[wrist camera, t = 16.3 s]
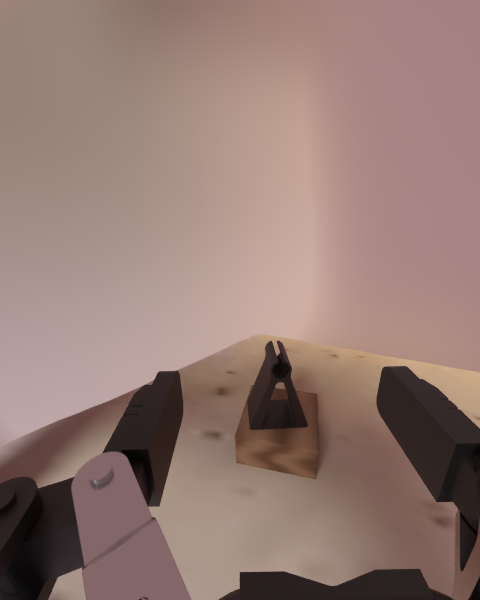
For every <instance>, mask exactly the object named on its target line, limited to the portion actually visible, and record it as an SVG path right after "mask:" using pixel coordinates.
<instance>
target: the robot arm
mask: <svg viewBox="0 0 480 600" xmlns="http://www.w3.org/2000/svg"><path fill="white" fill-rule="evenodd" d="M377 408H378V411H379V414H380V416H381V417H382V419H383V420H384V422H385V423H386V425H387V426H388V428H389V430H390V431H391V433H392V434H393V436H394V437H395V439H396V440H397V442H398V443H399V445H400V446H401V448H402V450H403V451H404V453H405V454H406V456H407V457H408V459H409V460H410V462H411V463H412V465H413V466H414V468H415V470H416V471H417V473H418V474H419V476H420V477H421V479H422V480H423V482H424V483H425V485H426V486H427V488H428V489H429V491H430V493H431V494H432V496H433V497H434V499H435V500H436V502H454V503H455V505H456V506H457V508H458V510H457V513H456V522H455V581H454V589H453V593H452V598H451V597H449V596H447V595H445V594H443V593H440V592H438V591H436V590H433V589H431V588H429V587H428V585H427V583H426V581H425V579H424V577H423V575H422V573H421V570H420V569H391V570H374V571H371V572H369V573H366V574H364V575H362V576H359V577H357V578H354V579H352V580H350V581H347V582H345V583H342V584H340V585H337V586H329V585H325V584H322V583H319V582H316V581H313V580H309V579H306V578H303V577H300V576H297V575H293V574H290V573H287V572H284V571H283V572H240V589H237V590H235V591H233V592H230V593H229V594H227V595H225V596H224V597H222V598H220V599H219V600H480V428H479V427H478V426H477V425H475V424H474V423H473V422H472V421H471V420H470V419H469V418H468V417H467V416H466V415H465V414H464V413H463V412H462V411H461V410H458V407H457V406H456V405H455V404H453V403H452V402H451V401H449V400H448V398H447V397H446V396H445V395H444V394H443V393H442V392H441V391H440V390H439V389H438V388H436V387H435V386H433V385H431V384H430V383H428V382H426V381H425V380H423V379H419V378H418V377H417V376H416V375H415V374H414V373H413V372H412V371H411V370H410V369H409V368H408V367H406V366H390V367H384V368H383V369H382V372H381V377H380V383H379V388H378V393H377ZM182 417H183V397H182V389H181V381H180V374H179V372H178V371H160V372H158V374H157V376H156V378H155V380H154V382H153V384H152V385H144V386H143V387H142V388H141V389H139V390H138V391H137V392H136V393H135V394H134V395H133V397H132V399H131V401H130V403H129V405H128V407H127V408H126V410H125V412H124V414H123V417H122V418H121V420H120V421H119V423H118V425H117V427H116V429H115V431H114V433H113V434H112V436H111V438H110V440H109V442H108V444H107V446H106V447H105V449H104V451H103V453H102V454H100V455H98V456H96V457H94V458H92V459H91V460H89V461H88V462H87V463H85V464H84V465H83V466H82V467H81V468H80V469H79V471H78V472H77V473H76V475H75V477H73V478H70V479H67V480H64V481H61V482H58V483H54V484H51V485H48V486H45V487H41V488H38V487H37V485H36V482H35V481H34V480H33V479H31V478H29V477H18V478H14V479H11V480H8V481H6V482H3V483H1V484H0V600H48V598H49V596H50V594H51V592H52V589H53V587H54V585H55V582H56V580H57V578H58V577H59V576H62V575H64V574H67V573H69V572H71V571H74V570H76V569H79V568H81V567H83V568H82V575H83V583H84V590H85V596H86V600H191V598H190V596H189V593H188V591H187V589H186V586H185V584H184V582H183V579H182V577H181V575H180V572H179V570H178V568H177V565H176V563H175V561H174V558H173V556H172V554H171V551H170V549H169V547H168V544H167V542H166V540H165V537H164V535H163V533H162V530H161V528H160V526H159V524H158V522H157V520H156V518H155V517H154V518H153V517H152V515H151V513H150V511H149V508H148V507H153V506H160V502H161V498H162V494H163V490H164V487H165V483H166V479H167V475H168V471H169V467H170V464H171V460H172V456H173V452H174V448H175V444H176V441H177V437H178V433H179V429H180V425H181V421H182Z"/></svg>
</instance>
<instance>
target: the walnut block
mask: <svg viewBox="0 0 480 600" xmlns="http://www.w3.org/2000/svg"><path fill="white" fill-rule="evenodd" d="M253 386H254V385H252V386H251V389H250V392H249V395H250V393H251V391H252V388H253ZM296 393H297V395H298V398H299V401H300V404H301V407H302V409H303V412H304V415H305V418H306V421H307V424H308V427H305V428H282V429H280V428H278V429H260V430H251V429H250V426H249V415H248V404H247V401H246V404H245V407H244V410H243V414H242V417H241V420H240V423H239V426H238V429H237V432H236V435H235V437H236V458H237V463H240V464H245V465H250V466H255V467H259V468H264V469H269V470H274V471H278V472H283V473H288V474H293V475H297V476H302V477H307V478H312V479H316V469H317V458H318V411H317V394H314V393H307V392H299V391H296ZM249 395H248V398H249ZM248 398H247V400H248ZM283 399H288V395H287V392H286V390H285V389H277V388H274V391H273V394H272V397H271V400H283Z"/></svg>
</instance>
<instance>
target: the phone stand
mask: <svg viewBox="0 0 480 600" xmlns="http://www.w3.org/2000/svg"><path fill="white" fill-rule="evenodd" d="M277 344H278V347H279V350H280V354H278V356H277V355H276V353H275V350H274V346H273V343H272V341H270V342H268V343H267V345H266V347H265V352H266V356H265V360H264V362H263V365H262V367H261V369H260V372H259V374H258V376H257V379H256V381H255V383H254V386H253V388H252V391H251V393H250V395H249V398H248V400H247V404H248V415H249V426H250V429H251V430H260V429H278V428H280V429H282V428H305V427H308V424H307V421H306V418H305V415H304V412H303V409H302V407H301V404H300V401H299V398H298V395H297V393H296V390H295V388H294V385H293V382H292V380H291V371H292V368H291V365H290V362H289V360H288V357H287V354H286V352H285V349H284V346H283V344H282V343H281V342H280V341H278V340H277ZM278 382H283V383H284V384H285V388H286V392H287V395H288V399H283V400H271V397H272V394H273V391H274V388H275V385H276V384H277V383H278Z"/></svg>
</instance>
